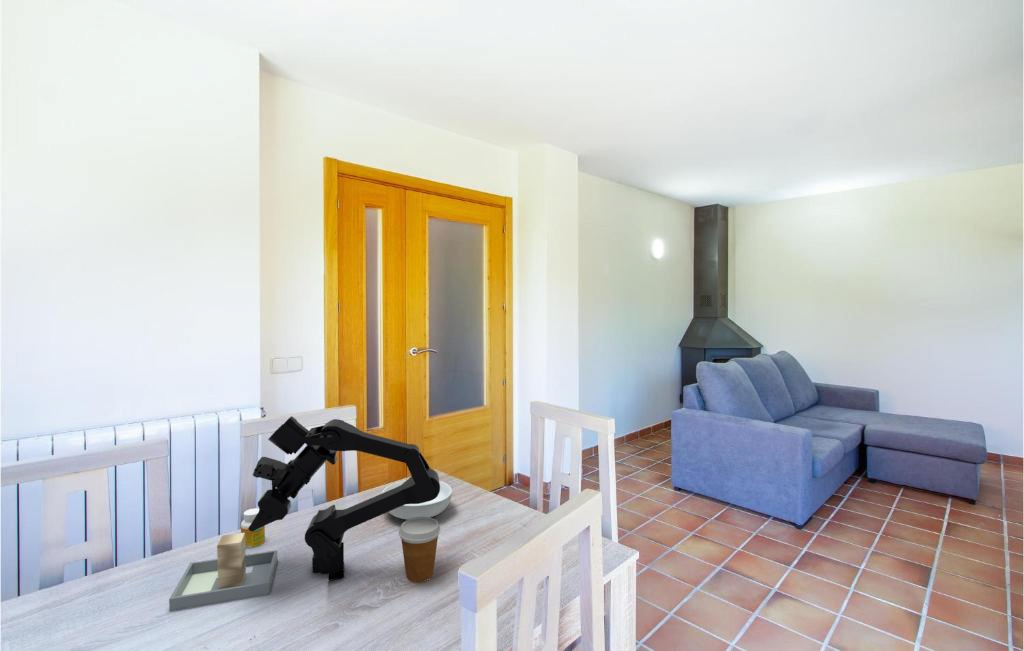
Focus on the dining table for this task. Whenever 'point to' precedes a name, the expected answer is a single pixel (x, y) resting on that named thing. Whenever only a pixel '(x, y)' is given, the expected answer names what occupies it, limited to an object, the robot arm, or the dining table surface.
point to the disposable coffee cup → (419, 547)
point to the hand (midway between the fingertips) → (255, 520)
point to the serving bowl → (423, 508)
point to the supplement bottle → (255, 536)
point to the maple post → (231, 561)
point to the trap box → (203, 582)
